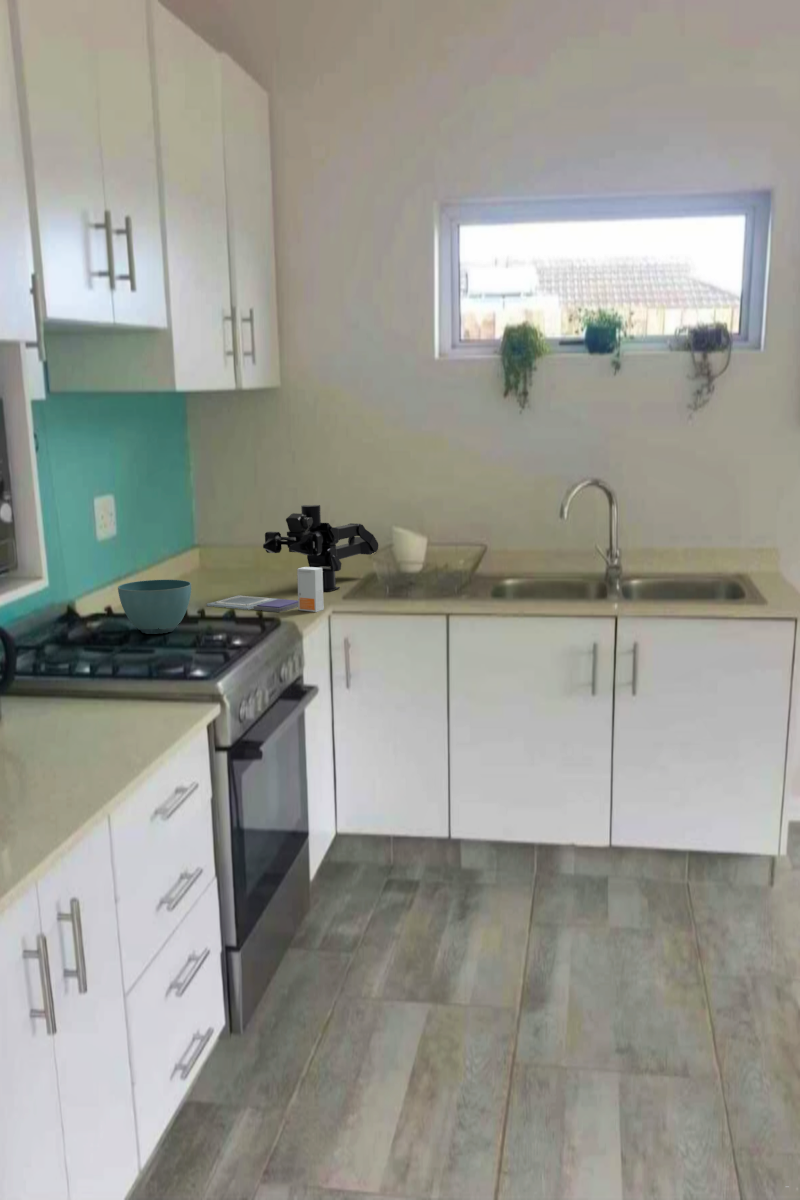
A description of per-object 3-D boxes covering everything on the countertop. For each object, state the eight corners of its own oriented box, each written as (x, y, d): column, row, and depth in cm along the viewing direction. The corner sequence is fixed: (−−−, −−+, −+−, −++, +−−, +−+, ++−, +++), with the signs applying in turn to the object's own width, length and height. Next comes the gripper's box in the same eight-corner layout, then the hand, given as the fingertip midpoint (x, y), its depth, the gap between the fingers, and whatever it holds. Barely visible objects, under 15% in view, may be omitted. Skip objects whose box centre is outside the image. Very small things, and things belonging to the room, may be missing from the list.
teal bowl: (134, 624, 276) (130, 579, 273) (201, 624, 274) (198, 578, 272) (111, 639, 258) (107, 591, 256) (183, 639, 257) (180, 590, 254)
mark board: (238, 597, 313) (238, 594, 313) (279, 600, 306) (279, 597, 306) (206, 605, 300) (206, 602, 300) (248, 609, 293) (248, 606, 293)
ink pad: (278, 602, 303) (278, 598, 303) (304, 604, 299) (303, 600, 299) (253, 609, 293) (253, 605, 293) (279, 612, 289) (279, 607, 288)
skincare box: (297, 610, 290) (296, 568, 288) (306, 608, 294) (304, 566, 292) (316, 612, 287) (314, 569, 285) (324, 609, 291) (323, 567, 289)
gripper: (279, 512, 315) (248, 518, 301) (332, 514, 306) (302, 520, 292) (281, 548, 317) (250, 556, 303) (333, 551, 308) (304, 559, 295)
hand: (276, 547), depth 298 cm, fingers open, 9 cm apart
